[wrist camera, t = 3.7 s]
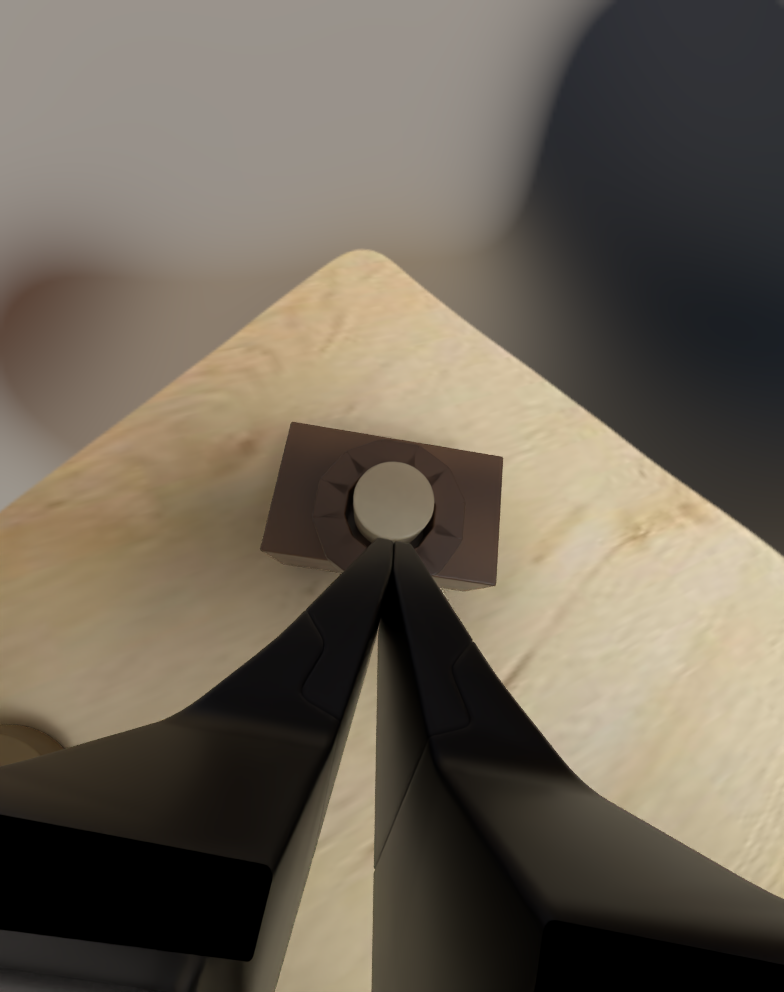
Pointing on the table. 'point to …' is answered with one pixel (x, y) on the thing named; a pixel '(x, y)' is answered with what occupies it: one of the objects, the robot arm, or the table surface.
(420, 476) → the lamp switch
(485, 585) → the switch box
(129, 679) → the table surface
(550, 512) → the table surface
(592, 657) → the table surface
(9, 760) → the desk lamp
